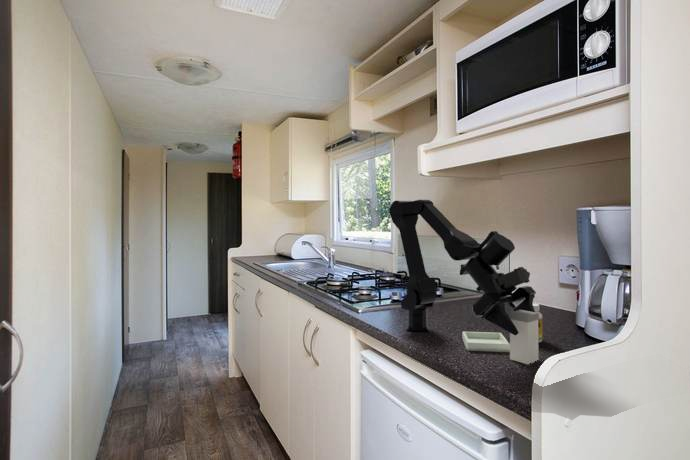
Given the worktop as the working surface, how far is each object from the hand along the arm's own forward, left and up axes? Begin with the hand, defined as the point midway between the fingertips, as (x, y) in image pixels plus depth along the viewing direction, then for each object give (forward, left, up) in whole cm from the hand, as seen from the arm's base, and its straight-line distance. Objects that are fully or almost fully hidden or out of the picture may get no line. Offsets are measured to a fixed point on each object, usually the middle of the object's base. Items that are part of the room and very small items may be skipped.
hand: (528, 330), depth 92 cm
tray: (-11, -8, -7) cm, 15 cm away
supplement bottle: (-17, +5, -7) cm, 19 cm away
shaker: (-1, -1, -7) cm, 7 cm away
